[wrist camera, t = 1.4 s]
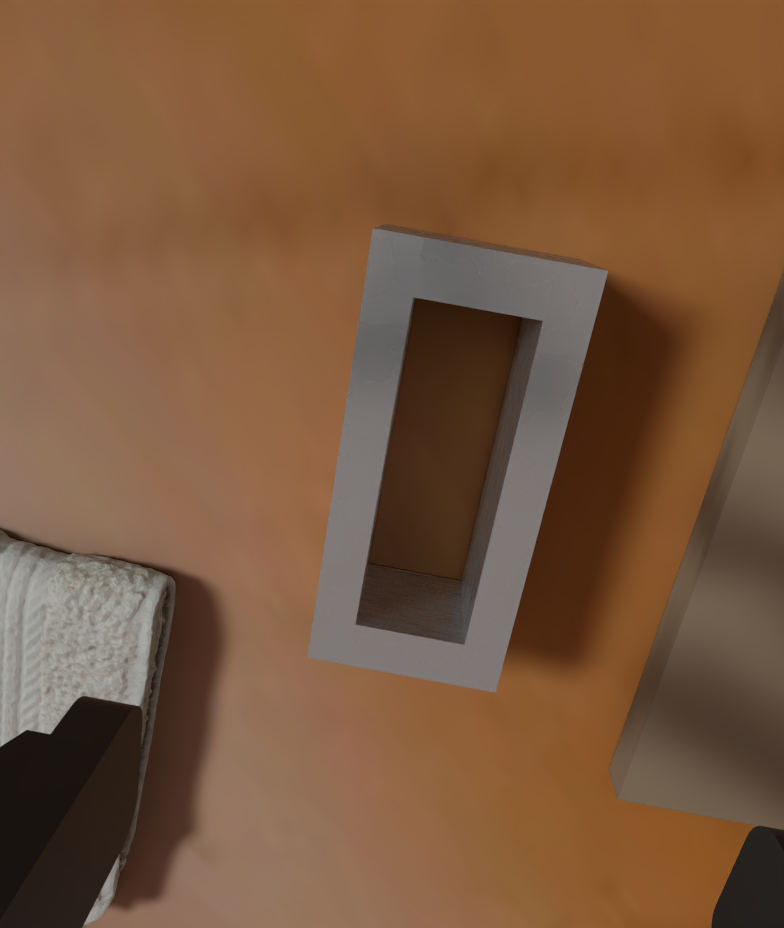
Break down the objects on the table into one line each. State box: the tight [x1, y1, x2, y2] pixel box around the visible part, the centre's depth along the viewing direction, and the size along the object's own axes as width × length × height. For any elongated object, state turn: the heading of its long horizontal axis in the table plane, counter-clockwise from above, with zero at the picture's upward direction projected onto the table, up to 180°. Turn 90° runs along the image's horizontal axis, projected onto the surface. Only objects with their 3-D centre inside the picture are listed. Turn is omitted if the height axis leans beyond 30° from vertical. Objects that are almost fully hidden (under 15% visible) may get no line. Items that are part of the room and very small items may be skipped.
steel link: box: [308, 224, 608, 693], centre depth 22 cm, size 13×6×4 cm, turn 170°
